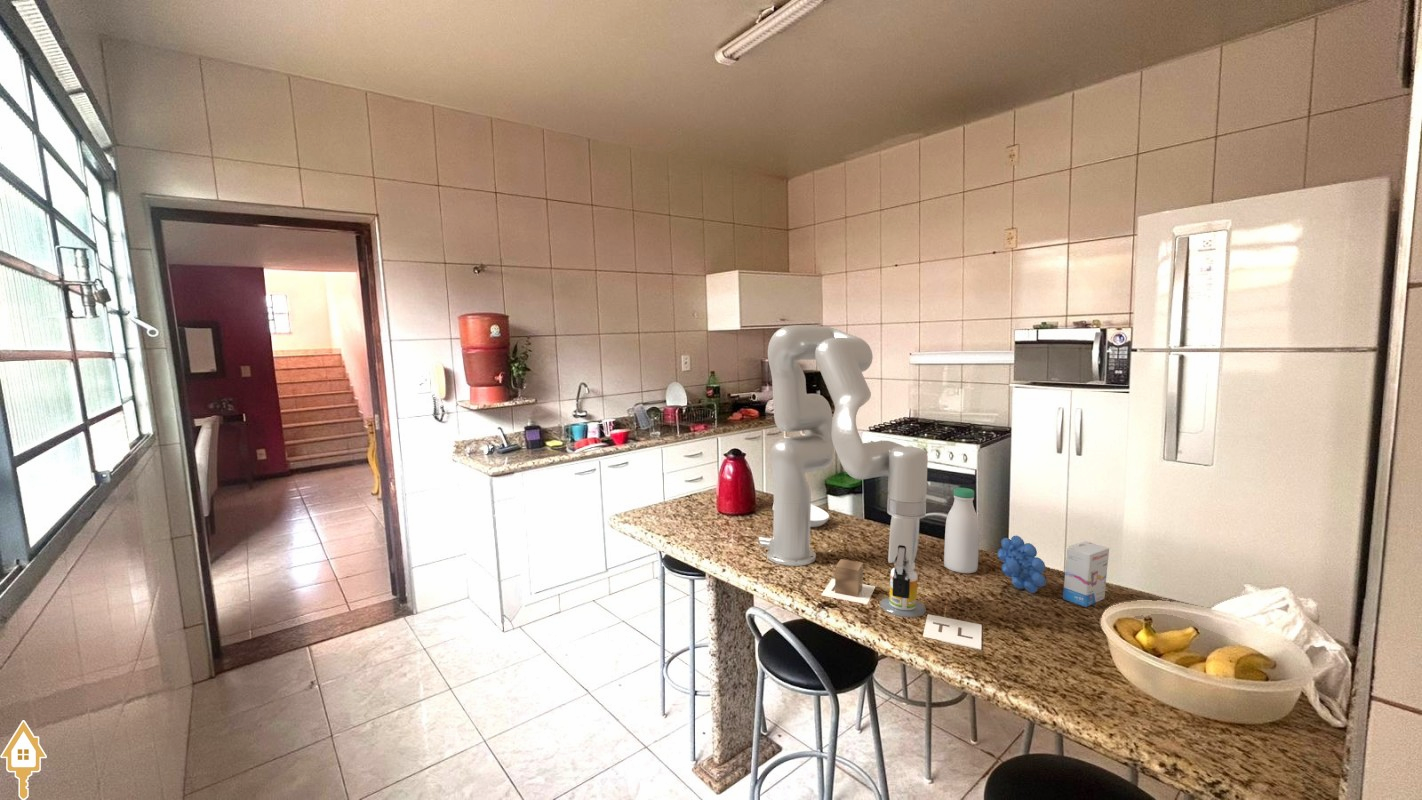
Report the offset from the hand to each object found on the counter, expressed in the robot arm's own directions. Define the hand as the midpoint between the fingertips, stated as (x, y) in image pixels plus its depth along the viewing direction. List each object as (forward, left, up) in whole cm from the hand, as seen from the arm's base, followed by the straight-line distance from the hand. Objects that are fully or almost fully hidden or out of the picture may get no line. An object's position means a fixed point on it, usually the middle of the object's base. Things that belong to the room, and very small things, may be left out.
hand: (903, 588), depth 118 cm
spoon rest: (-38, +50, -5) cm, 63 cm away
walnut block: (-12, +3, -4) cm, 13 cm away
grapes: (+22, +21, -4) cm, 31 cm away
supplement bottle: (0, 0, -4) cm, 4 cm away
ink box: (+35, +22, -4) cm, 42 cm away
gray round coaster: (0, 0, -4) cm, 4 cm away
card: (+10, -6, -4) cm, 12 cm away
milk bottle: (+10, +29, -4) cm, 31 cm away
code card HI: (-12, +3, -4) cm, 13 cm away
